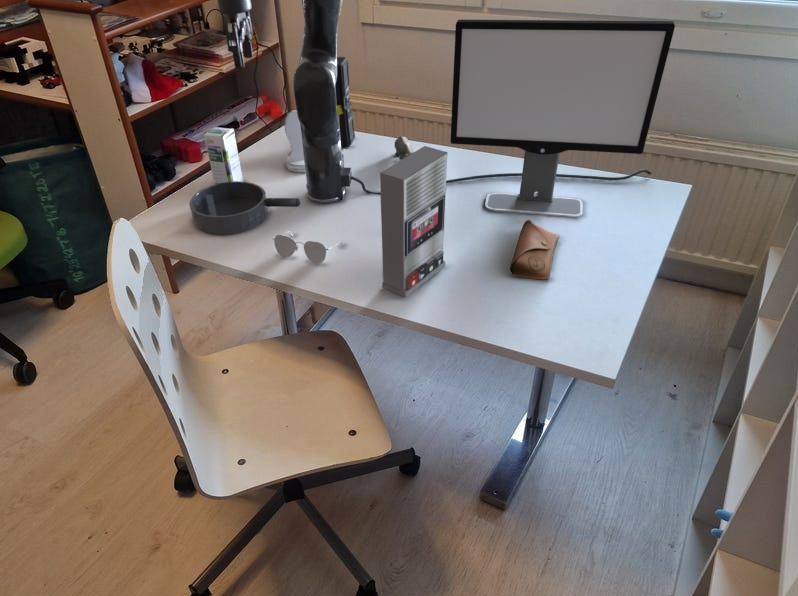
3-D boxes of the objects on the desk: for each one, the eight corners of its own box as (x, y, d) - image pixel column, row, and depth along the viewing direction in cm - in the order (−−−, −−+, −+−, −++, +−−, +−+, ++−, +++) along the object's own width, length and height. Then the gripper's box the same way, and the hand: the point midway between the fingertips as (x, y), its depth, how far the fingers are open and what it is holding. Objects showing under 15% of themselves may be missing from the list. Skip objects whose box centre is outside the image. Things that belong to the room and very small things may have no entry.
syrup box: (214, 188, 167) (202, 134, 158) (225, 178, 171) (214, 125, 162) (233, 191, 166) (222, 136, 156) (244, 181, 170) (234, 127, 160)
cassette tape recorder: (406, 299, 126) (406, 181, 109) (382, 288, 129) (378, 172, 112) (446, 267, 133) (451, 152, 117) (422, 258, 136) (424, 145, 120)
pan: (275, 198, 161) (272, 181, 158) (258, 236, 148) (255, 217, 144) (206, 198, 163) (202, 181, 160) (184, 235, 150) (179, 216, 147)
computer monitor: (446, 207, 153) (454, 24, 126) (451, 191, 159) (460, 13, 132) (626, 221, 143) (676, 27, 116) (625, 203, 149) (672, 14, 122)
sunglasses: (272, 254, 141) (271, 233, 138) (291, 241, 147) (290, 220, 145) (328, 266, 136) (327, 244, 133) (345, 252, 143) (345, 231, 140)
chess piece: (326, 167, 173) (321, 112, 163) (292, 175, 170) (285, 119, 161) (315, 154, 180) (309, 100, 170) (282, 161, 177) (274, 107, 168)
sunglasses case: (552, 279, 127) (538, 252, 124) (519, 290, 131) (505, 264, 128) (560, 234, 139) (548, 209, 137) (530, 245, 143) (518, 221, 141)
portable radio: (350, 149, 181) (344, 56, 164) (329, 148, 182) (322, 56, 166) (355, 138, 187) (350, 47, 170) (335, 137, 188) (328, 47, 171)
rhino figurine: (404, 176, 166) (404, 154, 162) (392, 155, 176) (392, 133, 172) (419, 174, 167) (419, 152, 163) (406, 153, 177) (406, 131, 173)
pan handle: (302, 204, 152) (301, 196, 151) (300, 208, 151) (299, 200, 149) (265, 204, 153) (264, 196, 152) (263, 208, 152) (262, 200, 150)
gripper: (240, -6, 139) (252, 72, 149) (255, -20, 149) (265, 53, 160) (207, -5, 139) (221, 73, 150) (224, -19, 150) (237, 54, 161)
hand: (244, 62), depth 155 cm, fingers open, 8 cm apart
